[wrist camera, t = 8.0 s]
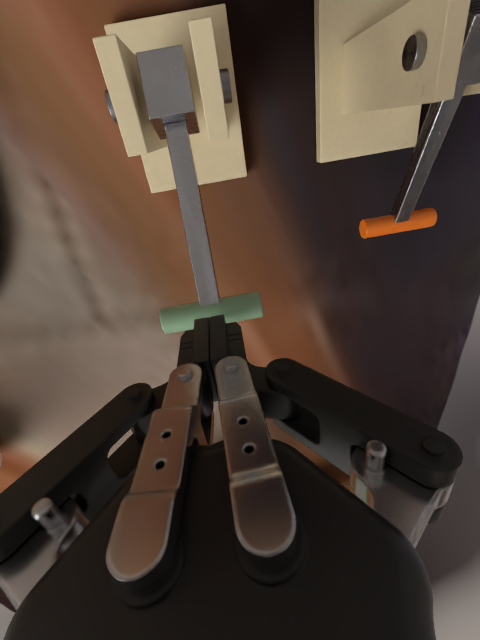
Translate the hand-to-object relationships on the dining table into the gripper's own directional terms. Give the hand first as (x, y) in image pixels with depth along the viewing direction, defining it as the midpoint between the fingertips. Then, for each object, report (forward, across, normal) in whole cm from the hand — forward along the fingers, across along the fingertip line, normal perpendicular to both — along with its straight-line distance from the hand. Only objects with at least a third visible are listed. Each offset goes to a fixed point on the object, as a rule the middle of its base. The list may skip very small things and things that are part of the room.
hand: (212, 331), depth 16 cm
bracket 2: (+17, -15, -10) cm, 25 cm away
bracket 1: (+17, 0, -10) cm, 20 cm away
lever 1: (+5, 0, -5) cm, 7 cm away
